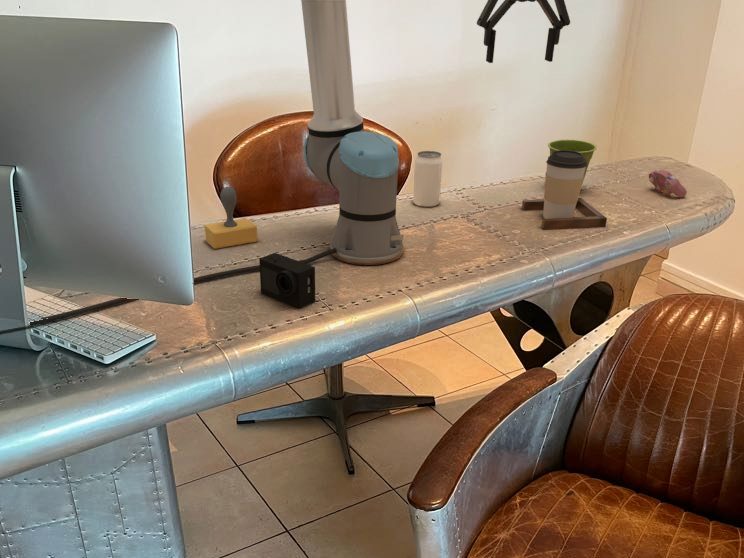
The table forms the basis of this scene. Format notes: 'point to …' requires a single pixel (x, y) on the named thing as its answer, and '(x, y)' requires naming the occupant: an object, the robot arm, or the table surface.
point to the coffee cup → (563, 183)
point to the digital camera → (287, 280)
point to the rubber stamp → (230, 225)
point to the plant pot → (574, 148)
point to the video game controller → (667, 183)
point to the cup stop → (591, 220)
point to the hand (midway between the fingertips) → (519, 61)
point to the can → (427, 179)
